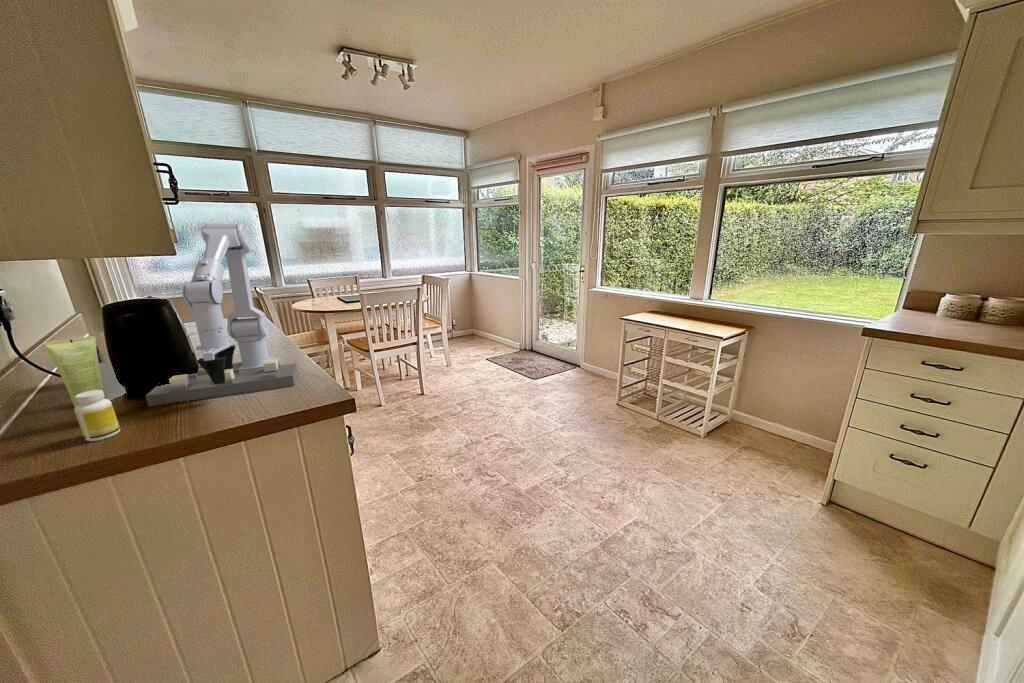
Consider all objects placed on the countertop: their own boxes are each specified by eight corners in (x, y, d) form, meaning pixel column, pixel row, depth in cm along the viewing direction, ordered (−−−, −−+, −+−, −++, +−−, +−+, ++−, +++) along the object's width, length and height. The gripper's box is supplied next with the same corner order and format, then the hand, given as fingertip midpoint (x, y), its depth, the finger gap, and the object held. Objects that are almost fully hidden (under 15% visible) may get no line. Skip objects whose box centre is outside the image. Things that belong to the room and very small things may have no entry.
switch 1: (175, 384, 100) (173, 375, 99) (189, 382, 101) (187, 373, 100) (171, 389, 97) (168, 379, 96) (185, 387, 98) (183, 377, 97)
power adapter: (95, 402, 97) (79, 358, 94) (117, 394, 102) (103, 351, 99) (106, 403, 97) (91, 358, 93) (128, 394, 102) (114, 351, 99)
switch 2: (266, 368, 111) (264, 360, 110) (278, 367, 112) (276, 358, 111) (264, 372, 108) (263, 363, 108) (277, 370, 109) (275, 361, 109)
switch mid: (221, 378, 103) (219, 369, 103) (234, 377, 105) (232, 368, 104) (218, 382, 101) (216, 373, 100) (232, 380, 102) (229, 371, 101)
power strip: (166, 390, 104) (162, 376, 103) (298, 372, 116) (295, 360, 115) (148, 406, 94) (144, 392, 93) (294, 385, 107) (292, 372, 106)
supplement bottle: (128, 429, 84) (114, 388, 81) (100, 442, 79) (84, 399, 76) (106, 428, 84) (92, 387, 82) (77, 441, 79) (61, 398, 76)
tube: (99, 413, 91) (71, 335, 86) (120, 413, 91) (94, 335, 86) (73, 425, 86) (42, 342, 80) (96, 425, 86) (67, 342, 80)
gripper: (201, 323, 101) (212, 371, 105) (181, 337, 89) (195, 390, 93) (232, 321, 104) (243, 367, 108) (218, 334, 91) (230, 386, 95)
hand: (223, 378), depth 100 cm, fingers open, 7 cm apart
